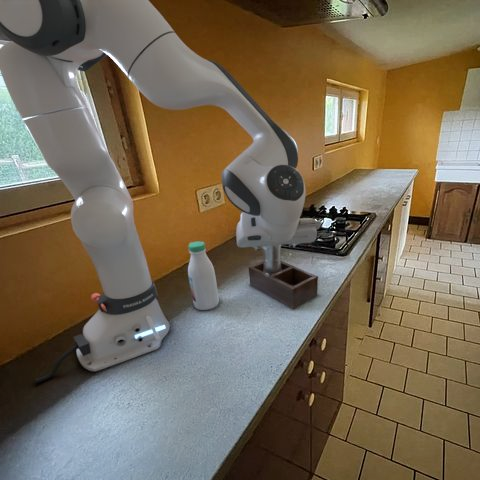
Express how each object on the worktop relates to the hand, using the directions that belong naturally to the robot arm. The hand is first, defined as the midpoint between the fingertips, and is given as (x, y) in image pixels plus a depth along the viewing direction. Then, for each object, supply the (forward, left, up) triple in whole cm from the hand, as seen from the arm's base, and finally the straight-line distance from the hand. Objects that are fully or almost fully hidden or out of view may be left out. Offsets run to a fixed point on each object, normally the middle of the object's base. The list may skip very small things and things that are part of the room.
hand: (274, 246), depth 82 cm
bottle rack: (+7, +5, -19) cm, 21 cm away
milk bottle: (-15, +16, -19) cm, 29 cm away
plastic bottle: (+7, +10, -18) cm, 22 cm away
